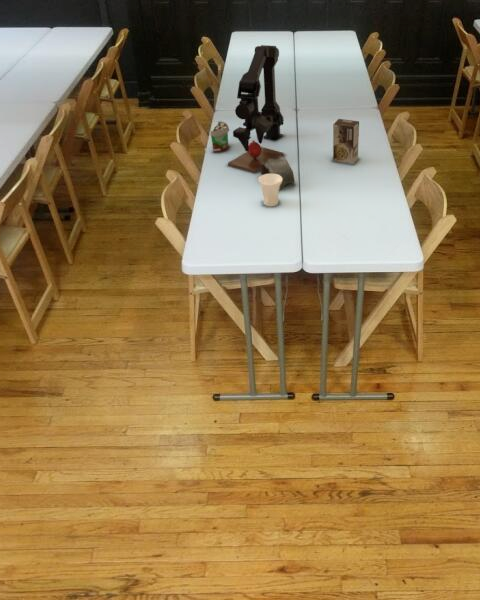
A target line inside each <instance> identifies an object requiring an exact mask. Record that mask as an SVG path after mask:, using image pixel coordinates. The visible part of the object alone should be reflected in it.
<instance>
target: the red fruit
mask: <svg viewBox="0 0 480 600" xmlns="http://www.w3.org/2000/svg"><path fill="white" fill-rule="evenodd" d="M261 147H262V146H261V145H260V143H259V142H257V141H256V140H252V141H251V142H250V143H249V150H248V154H249V155H250V156H251V157H253V158H254V159H256V158H257V157H258V156H259V155H260V154H261Z"/></svg>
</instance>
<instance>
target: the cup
mask: <svg viewBox="0 0 480 600" xmlns="http://www.w3.org/2000/svg"><path fill="white" fill-rule="evenodd" d="M257 181H258V183H259V185H260V188H261V192H262V196H263V197H262V199H263V201H262V203H263V205H264V206H265V207H275V206H277V205H278V204H279V191H280V189H279V188H280V184H281V183H282V177H281V176H280V175H278V174H264V175H262V174H261V175H260V176H259V177H258V179H257Z"/></svg>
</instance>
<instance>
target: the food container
mask: <svg viewBox="0 0 480 600" xmlns="http://www.w3.org/2000/svg"><path fill="white" fill-rule="evenodd" d="M217 122H218V123H217V125H216V126H214V128H213V130H210V137H211V138H210V139H211V145H212V151H213V153H216V154H217V153H222V152H226V151H227V150H228V149H229V131H230V127H229V125H228V124H227V122H225V121H221V120H218V121H217Z"/></svg>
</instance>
